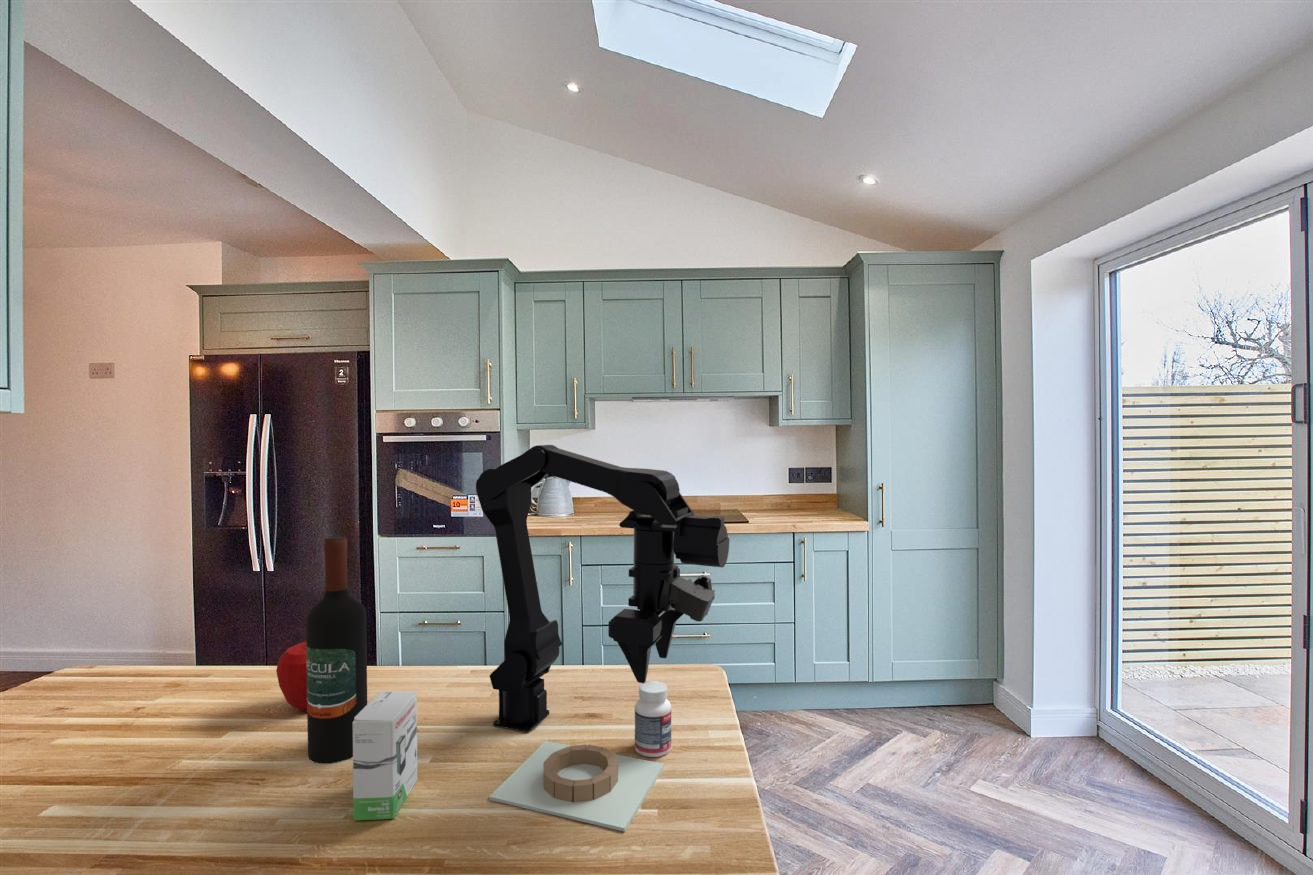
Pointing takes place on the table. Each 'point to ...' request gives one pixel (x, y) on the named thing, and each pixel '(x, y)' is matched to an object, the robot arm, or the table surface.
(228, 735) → the table surface
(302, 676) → the apple
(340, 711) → the wine bottle
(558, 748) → the collar board
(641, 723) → the pill bottle
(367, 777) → the ink box
